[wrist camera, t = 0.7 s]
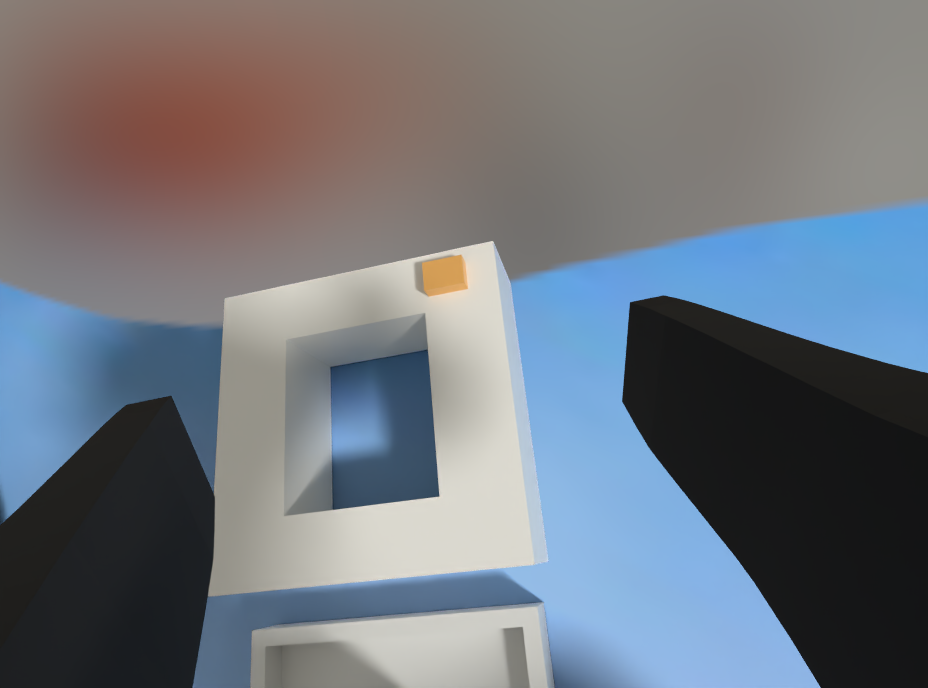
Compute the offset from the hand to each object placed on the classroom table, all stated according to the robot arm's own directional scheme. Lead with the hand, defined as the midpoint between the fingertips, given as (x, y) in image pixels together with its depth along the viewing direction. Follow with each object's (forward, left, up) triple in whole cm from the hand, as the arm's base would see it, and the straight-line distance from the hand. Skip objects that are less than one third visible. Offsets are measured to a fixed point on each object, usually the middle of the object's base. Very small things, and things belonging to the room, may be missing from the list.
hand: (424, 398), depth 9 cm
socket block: (+3, +6, -15) cm, 17 cm away
